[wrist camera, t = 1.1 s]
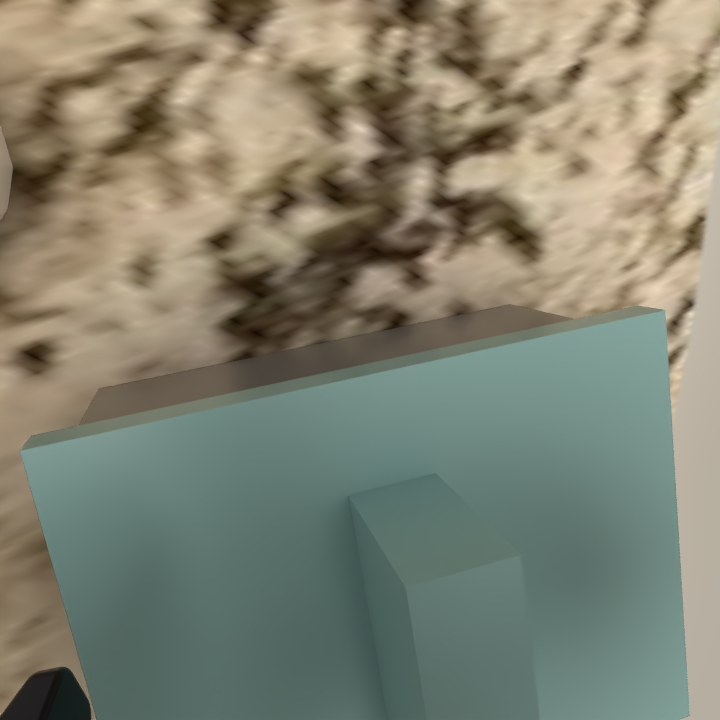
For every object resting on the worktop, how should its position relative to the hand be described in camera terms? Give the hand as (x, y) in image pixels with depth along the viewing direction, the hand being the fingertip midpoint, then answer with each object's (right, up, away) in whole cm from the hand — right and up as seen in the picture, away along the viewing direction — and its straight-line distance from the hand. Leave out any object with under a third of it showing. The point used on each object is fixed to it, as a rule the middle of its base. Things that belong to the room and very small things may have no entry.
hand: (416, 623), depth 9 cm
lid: (0, -2, +8) cm, 9 cm away
